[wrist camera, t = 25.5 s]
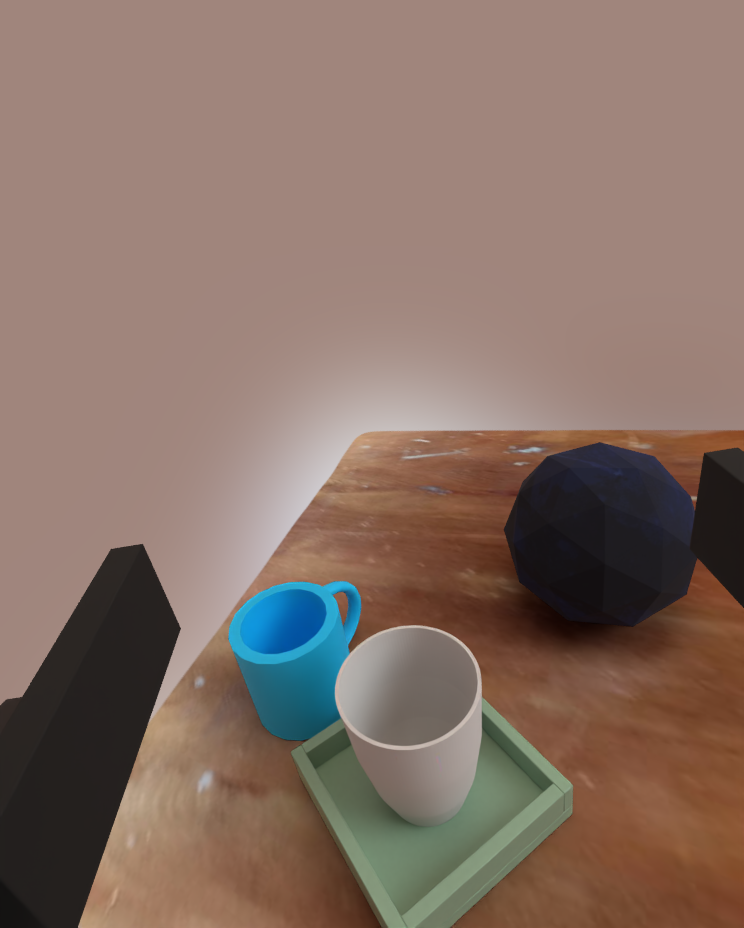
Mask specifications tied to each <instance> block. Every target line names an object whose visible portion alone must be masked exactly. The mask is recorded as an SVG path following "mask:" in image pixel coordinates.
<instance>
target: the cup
mask: <svg viewBox="0 0 744 928" xmlns="http://www.w3.org/2000/svg"><path fill="white" fill-rule="evenodd" d="M335 699H336V704H337V708H338V711H339V714H340V716H341V719H342V721H343V724H344V726H345V729H346V731H347V734H348V736H349V739H350V741H351V744H352V746H353V749H354V752H355V754H356V757H357V759H358V761H359V763H360V764H361V766H362V768H363V769H364V771H365V773H366V774H367V776H368V777H369V779H370V781H371V782H372V784H373V786H374V787H375V789H376V790H377V792H378V794H379V795H380V797H381V798H382V799H383V800H384V801H385V802H386V803H387V804H388V805H389V806H390V807H391V808H392V809H393V810H394V811H395V812H397V813H398V814H399V815H400V816H401V817H402V818H403V819H405V820H406V821H408V822H409V823H411V824H414V825H417V826H422V827H433V826H438V825H441V824H443V823H445V822H447V821H449V820H450V819H452V818H453V817H454V816H455V815H456V814H457V813H458V812H459V810H460V809H461V807H462V805H463V803H464V801H465V799H466V797H467V795H468V793H469V790H470V788H471V786H472V784H473V781H474V778H475V773H476V767H477V761H478V755H479V749H480V743H481V737H482V684H481V673H480V669H479V666H478V663H477V661H476V659H475V657H474V656H473V654H472V653H471V651H470V650H469V649H468V648H467V647H466V646H465V645H464V644H463V643H462V642H461V641H460V640H458V639H457V638H456V637H454V636H452V635H451V634H449V633H447V632H444V631H442V630H439V629H436V628H432V627H427V626H415V625H412V626H400V627H395V628H391V629H387V630H384V631H382V632H379V633H377V634H375V635H373V636H371V637H369V638H368V639H366V640H365V641H363V642H362V643H361V644H359V645H358V646H357V647H356V648H355V649H354V650H353V651H352V652H351V653H350V654H349V656H348V657H347V658H346V660H345V661H344V663H343V664H342V666H341V668H340V671H339V673H338V676H337V680H336V685H335Z"/></svg>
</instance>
